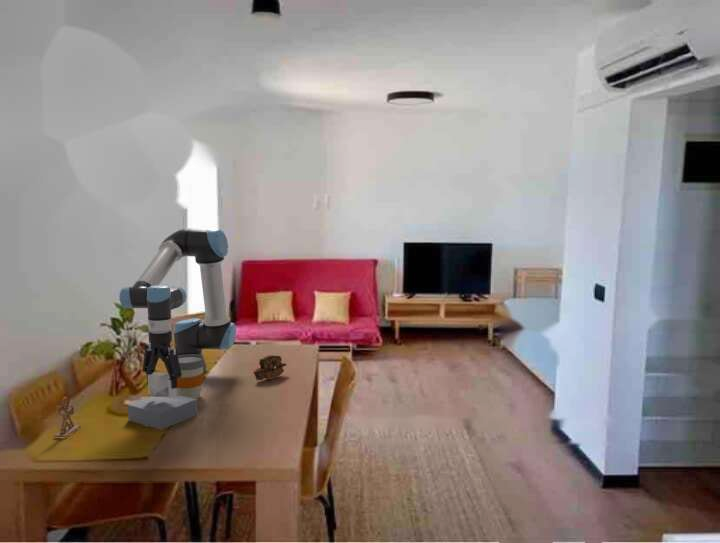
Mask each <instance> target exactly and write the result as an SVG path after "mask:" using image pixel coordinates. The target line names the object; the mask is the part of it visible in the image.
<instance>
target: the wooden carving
mask: <svg viewBox="0 0 720 543" xmlns="http://www.w3.org/2000/svg"><path fill="white" fill-rule="evenodd" d="M258 364H259V366H260V367H257V368H256V369H255V370H253V375H254V376H255V379H256V381H263V380H266V379H267V380H273V379H276V378H279V377H280V376H281V375H282V374H283V373H284V372H285V369H284V367H286V366H287V363H283V362H282V357H281V355H272V354H270V355H269V354H267V355H265V356H264V357H263V358H260V359H259V363H258Z"/></svg>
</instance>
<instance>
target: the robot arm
mask: <svg viewBox="0 0 720 543" xmlns="http://www.w3.org/2000/svg"><path fill="white" fill-rule="evenodd" d="M228 244H229V242H228V239H227V236H226V234H225V232H224V231H223V230H222V229H219V228H212V227H209V228H208V227H205V228H204V227H203V228H194V227H193V228H189V227H188V228H182V229H179V230H177V231H175V232H173V233H172V234H170V235H169V236H167V237H166V238H164V240H163V241H162V242H161V243H160V244H159V247H158V252H157V253H156V255H155V256H154V257H153V259H152V260H151V261H150V262H149V264H148V265H147V266H146V268H145V270H144V271H143V272H142V273H141V275H140V276H139V278H138V279H137V280H136V281H135V283H134V284H133V285H132V286H130V285H129V286H126V287H123V288H122V289H121V290H120V291H119V296H118V297H119V299H118V300H119V302H120V305H121V306H122V307H123V308H129V309H147V323H148V324H147V325H148V326H147V327H148V331H149V332H148V343H149V344H145V345H144V355H143V362H142V367H141V368H142V372H143V373H145V374H146V378H147V382H146V383H147V384H148V383H149V382H150V380H151V379H152V377H153V376H154V374H155V373H156V372H155V371H156V370H155V369H156V366H157V364H158V361H159V359H160V360H161V361H162V362H163V364H164V367H165V368H166V373H168V374H169V377H170V379H168V385H169V398H173V397H176V396H177V390H176V388H177V378H179V377H181V376H182V374H181V369H180V365H179V360H178V356H181V355H200V356H203V358H204V366H203V371H204V373H206V372H207V370H208V368H207V366H208V365H207V363H206V361H205V357H204V354H203V350H217V351H222V350H224V351H225V350H230V349H231V348H232V347H233V345H234V343H235V340H236V335H237V326H236V324H235V323H234V322H231V317H230V316H229V315H227V312H226V310H227V308H226V299H225V290H224V282H223V271H222V263H223V262H224V260H225V257H226V256H227V255H228V253H229V245H228ZM184 257H194V260H195V263H196V264H197V265H198V266H199V269H200V278H201V286H202V288H201V289H202V294H203V303H204V304H203V305H204V313H205V317H204V318H203V320H202V319H201V318H198V317H196V318H189V319H182V320H179V321H177V322H175V323H174V326H172V310H174V309H177V308H180V307H181V306H182V305H184V304H185V303H186V300H187V292H186V290H185V289H184V288H183V287H181V286H178V285H177V286H171V287H170V285H169V286H168V285H164V284H163V285H162V284H161V283H162V282H163V281H164V280H165V278H166V276H167V275H168V273H169V272H170V271H171V269H172V268H173V266H174V265H175V263H177V262H179V261H180V260H181V259H182V258H184ZM172 329H173V332H172V331H171V330H172ZM172 341H173V344H174V346H173V347H174V348H172V346H171V343H172ZM147 386H148V385H147ZM148 394H152V392H151V390H150V388H149V386H148Z"/></svg>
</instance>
